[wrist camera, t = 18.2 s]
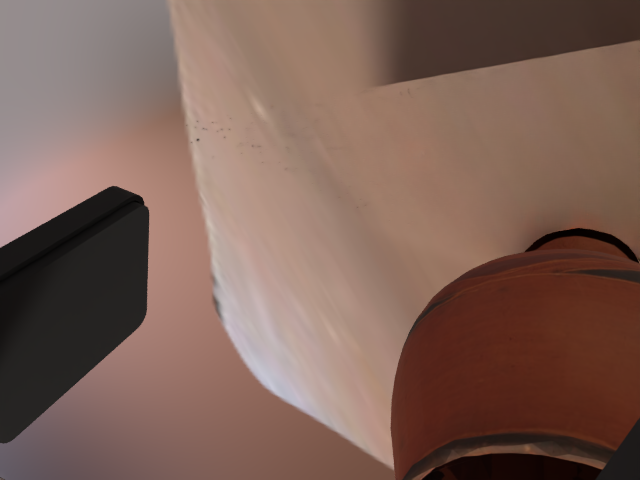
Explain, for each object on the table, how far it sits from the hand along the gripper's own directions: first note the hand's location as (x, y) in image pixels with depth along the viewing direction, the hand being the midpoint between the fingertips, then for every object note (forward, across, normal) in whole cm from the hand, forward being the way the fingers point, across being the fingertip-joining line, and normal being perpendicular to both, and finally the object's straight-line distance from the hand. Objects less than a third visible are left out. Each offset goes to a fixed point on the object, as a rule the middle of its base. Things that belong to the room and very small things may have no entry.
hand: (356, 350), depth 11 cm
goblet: (+34, -9, +16) cm, 39 cm away
